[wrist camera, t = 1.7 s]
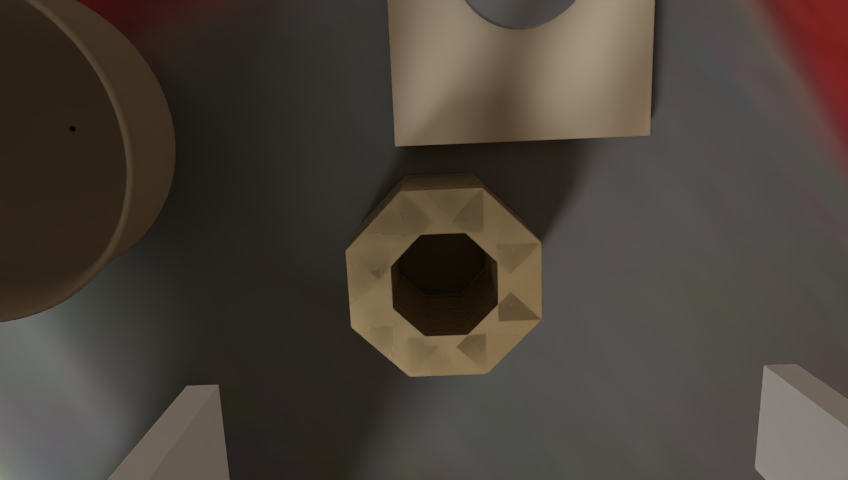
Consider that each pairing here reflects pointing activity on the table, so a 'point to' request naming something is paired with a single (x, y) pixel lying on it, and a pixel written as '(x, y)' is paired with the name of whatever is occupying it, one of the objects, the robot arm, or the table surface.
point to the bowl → (73, 150)
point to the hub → (520, 69)
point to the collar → (444, 312)
